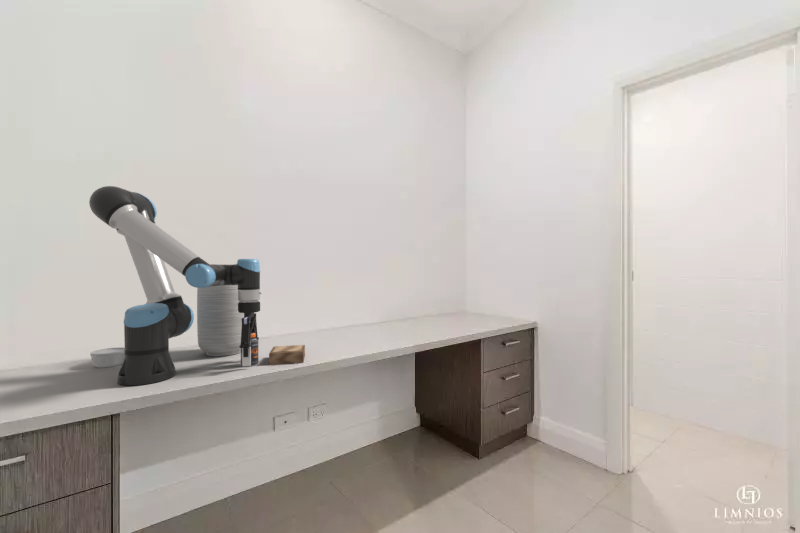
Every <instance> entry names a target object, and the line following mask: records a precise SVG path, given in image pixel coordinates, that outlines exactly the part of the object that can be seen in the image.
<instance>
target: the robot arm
mask: <svg viewBox="0 0 800 533" xmlns="http://www.w3.org/2000/svg"><path fill="white" fill-rule="evenodd" d="M88 204H89V207H90V210H91V212H92V213H93V214H94V215H95V216H96V217H97V218H98V219H99V220H100V221H102V222H103V223H104V224H106V225H107V226H109V227H110V228H112V229H115V230H116V232H117V233H118V234H119V235H121V236H124V238H125V242H126V244H127V248H128V249H129V252H130V253H129V254H130V256H131V257H132V261H133V264H134V266H135V268H136V269H135V270H136V271H137V275H138V278H139V280H140V283H141V286H142V289H143V291H144V294H145V297H146V302H145V303H143V304H137V305H134V306H132V307H129V308H128V309H126V310H125V312H124V317H123V318H124V319H123V327H124V329H123V331H124V335H123V336H124V348H125V358H124V360H123V363H122V364H121V365H120V366H121V367H120V369H119V371H118V375H117V384H119V385H121V386H141V385H142V386H144V385H149V384H155V383H159V382H163V381H166V380H169V379H171V378H173V377H175V376H176V367H175V364H174V362H173V359H172V357H171V354H170V350H169V349H170V348H169V343H170V342H169V341H170V340H169V339H172V338H176V337H179V336H181V335H183V334H184V333H186V332H188V330H190V328H191V327H192V325H193V323H194V319H195V318H194V317H195V314H194V311H193V310H192V308H191V307H190V306H189V305H187V303H184V299H183V297H182V295H181V294H178V293H176V291H175V289H174V285H173V284H172V280H171V277H170V275H169V273H168V270H167V267H166V264H167V265H168V266H170V267H172V268H173V269H175V270H176V271H177V272H178V273H179V274H181V275H182V276H184V278H185V281H186V283H187V284H188V285H190V287H194V288H206V287H211V286H220V285H238V301H239V303H238V312H239V313H244V318H242V330H241V345H240V346H239V348H242V365H241V366H242V367H252V366H251V347H250V339H251V333H255V335H256V337H255V338H256V339H257V340H258V341H259V339H260V338H259V336H258V327H257V325H258V324H257V313H258V312H259V313H260V311H261V302H260V300H261V295H262V293H263V292H262V291H260V290H261V270H260V261H259V260H258V259H257V258H239V259H237V262H236V263H235V264H213V263H212V264H211V263H209V262H207V261H206V260H204V259H203V258H201V257H200V256H199V255H197V254H196V253H195V252H193V251H192V250H190V249H189V248H188V247H187V246H185V245H184V244H183V243H181V242H180V241H178V240H177V239H175V238H174V237H173V236H172V235H170V234H169V233H167V232H166V231H165V230H163V229H162V228H160V227H159V226H158V225H157V224H156V221H155V220H156V217H157V211H158V210H157V207H156V205H155V204H154V202H153V201H152V200H151V199H150V198H149V197H147V196H145V195H143V194H141V193H139V192H136V191H134V192H133V191H131V190H127V189H124V188H121V187H118V186H114V185H105V186H102V187H99V188H97V189H95V190H94V191H93V192H92V194H90V197H89V203H88ZM165 263H166V264H165Z"/></svg>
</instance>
